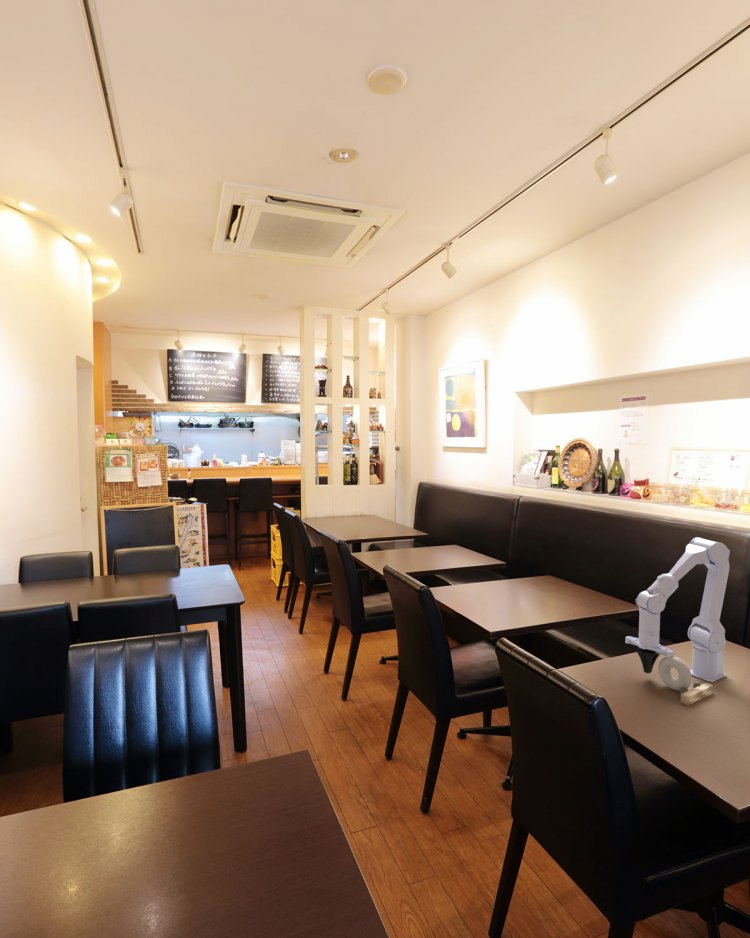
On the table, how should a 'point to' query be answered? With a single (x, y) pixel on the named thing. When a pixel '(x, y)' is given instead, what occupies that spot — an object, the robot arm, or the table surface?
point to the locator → (696, 692)
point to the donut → (681, 668)
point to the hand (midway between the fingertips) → (647, 672)
